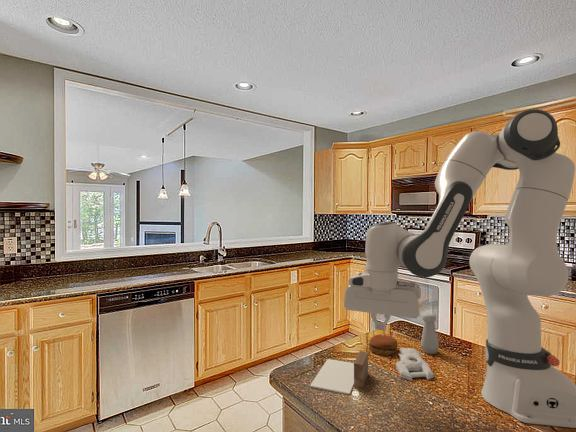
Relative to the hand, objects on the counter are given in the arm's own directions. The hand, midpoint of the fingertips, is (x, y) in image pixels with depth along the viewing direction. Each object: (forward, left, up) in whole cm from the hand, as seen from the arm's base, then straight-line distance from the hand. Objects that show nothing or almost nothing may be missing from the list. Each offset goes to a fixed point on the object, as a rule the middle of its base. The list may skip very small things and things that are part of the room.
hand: (380, 329), depth 91 cm
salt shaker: (-13, -28, -15) cm, 35 cm away
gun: (-8, -14, -16) cm, 22 cm away
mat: (+12, 0, -15) cm, 20 cm away
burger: (+2, -24, -16) cm, 29 cm away
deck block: (+5, 0, -15) cm, 16 cm away
